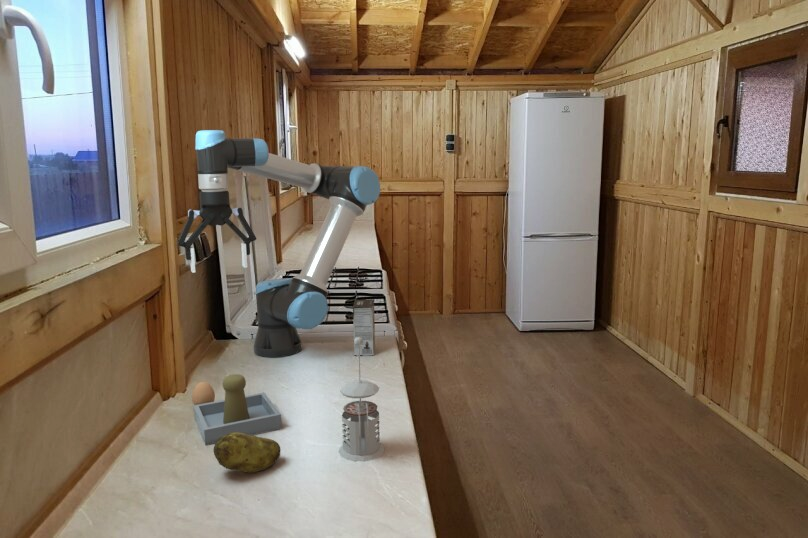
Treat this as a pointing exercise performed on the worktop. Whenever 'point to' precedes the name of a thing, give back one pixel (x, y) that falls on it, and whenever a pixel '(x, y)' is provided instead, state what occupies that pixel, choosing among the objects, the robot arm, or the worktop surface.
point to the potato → (246, 452)
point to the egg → (203, 394)
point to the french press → (360, 420)
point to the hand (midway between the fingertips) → (219, 269)
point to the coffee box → (364, 326)
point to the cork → (235, 399)
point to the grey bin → (260, 421)
